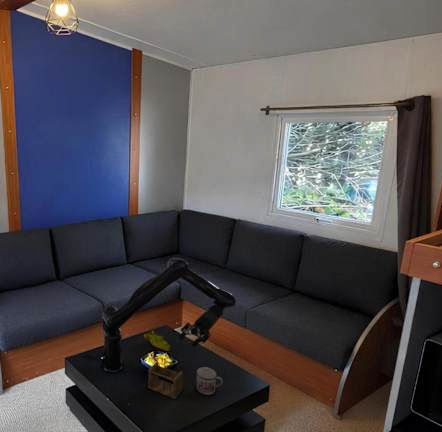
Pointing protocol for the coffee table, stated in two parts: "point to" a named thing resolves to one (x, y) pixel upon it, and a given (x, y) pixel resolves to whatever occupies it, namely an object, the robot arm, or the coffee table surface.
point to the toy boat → (157, 341)
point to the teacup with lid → (207, 381)
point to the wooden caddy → (161, 385)
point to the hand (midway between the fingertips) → (186, 342)
